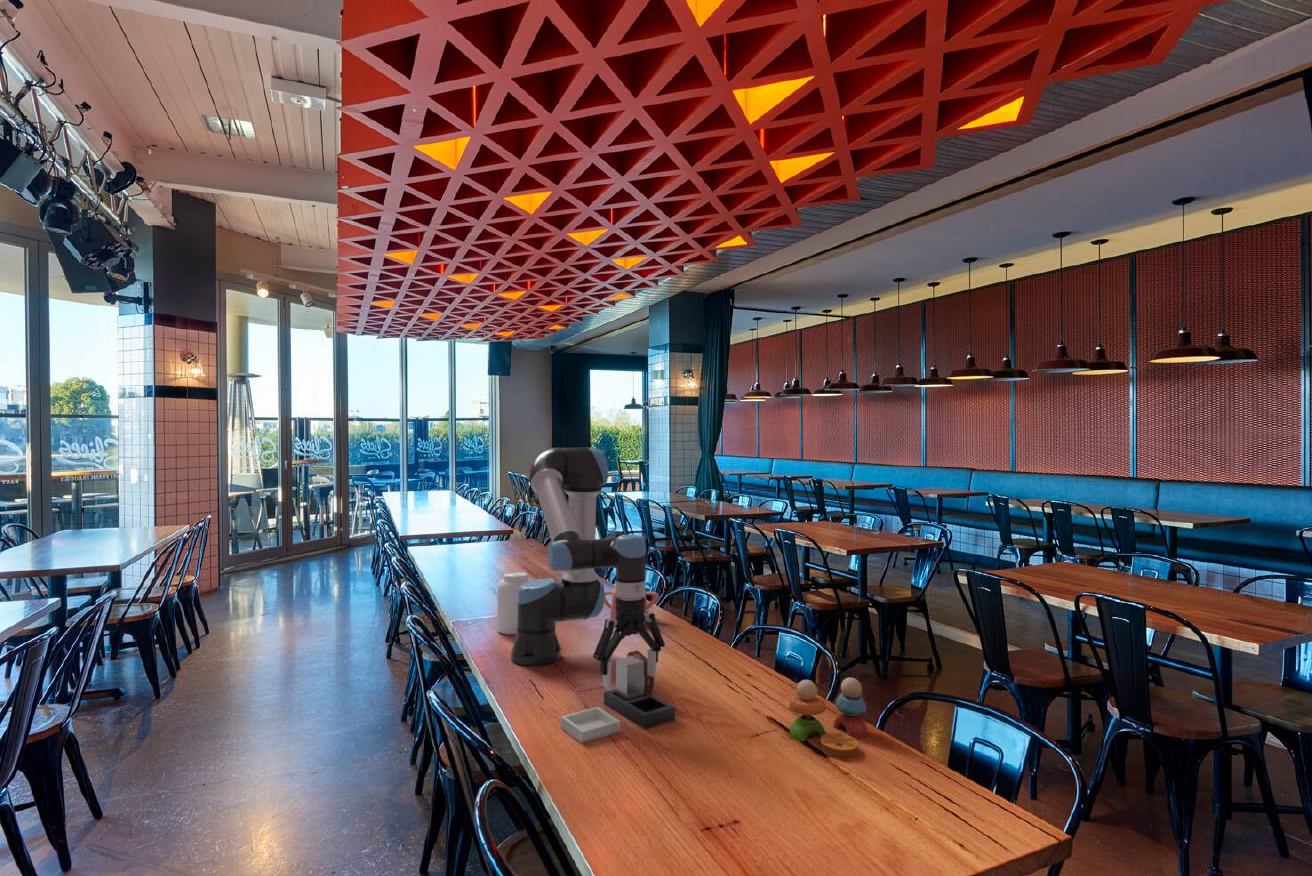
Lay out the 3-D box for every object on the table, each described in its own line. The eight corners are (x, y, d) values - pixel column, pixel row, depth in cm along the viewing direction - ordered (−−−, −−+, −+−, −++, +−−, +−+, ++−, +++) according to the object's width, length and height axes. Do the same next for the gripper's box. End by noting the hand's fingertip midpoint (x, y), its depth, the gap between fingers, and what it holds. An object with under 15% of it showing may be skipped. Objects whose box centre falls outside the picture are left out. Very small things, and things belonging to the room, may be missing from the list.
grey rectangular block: (615, 703, 166) (616, 659, 166) (632, 698, 169) (632, 656, 169) (626, 709, 162) (627, 665, 162) (643, 705, 165) (643, 661, 165)
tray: (560, 727, 153) (560, 716, 153) (597, 717, 158) (597, 706, 158) (582, 743, 144) (582, 732, 144) (620, 732, 150) (620, 721, 150)
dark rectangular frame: (603, 703, 167) (603, 691, 167) (633, 695, 172) (633, 684, 172) (644, 729, 152) (644, 716, 152) (675, 719, 157) (675, 707, 157)
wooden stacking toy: (833, 764, 137) (833, 704, 137) (782, 731, 152) (782, 677, 152) (896, 747, 145) (896, 690, 145) (841, 717, 160) (841, 666, 160)
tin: (655, 695, 173) (655, 663, 173) (643, 696, 172) (644, 664, 172) (635, 675, 187) (635, 646, 187) (624, 677, 186) (625, 647, 186)
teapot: (658, 627, 236) (658, 588, 236) (597, 626, 236) (597, 587, 236) (658, 612, 256) (659, 577, 256) (602, 612, 256) (602, 576, 256)
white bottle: (540, 628, 232) (541, 572, 232) (515, 637, 222) (515, 578, 222) (514, 623, 239) (515, 568, 239) (489, 631, 228) (489, 574, 229)
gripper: (595, 607, 155) (594, 697, 155) (678, 593, 170) (677, 675, 170) (579, 600, 161) (579, 687, 161) (661, 588, 176) (660, 667, 176)
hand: (629, 681), depth 165 cm, fingers open, 13 cm apart
